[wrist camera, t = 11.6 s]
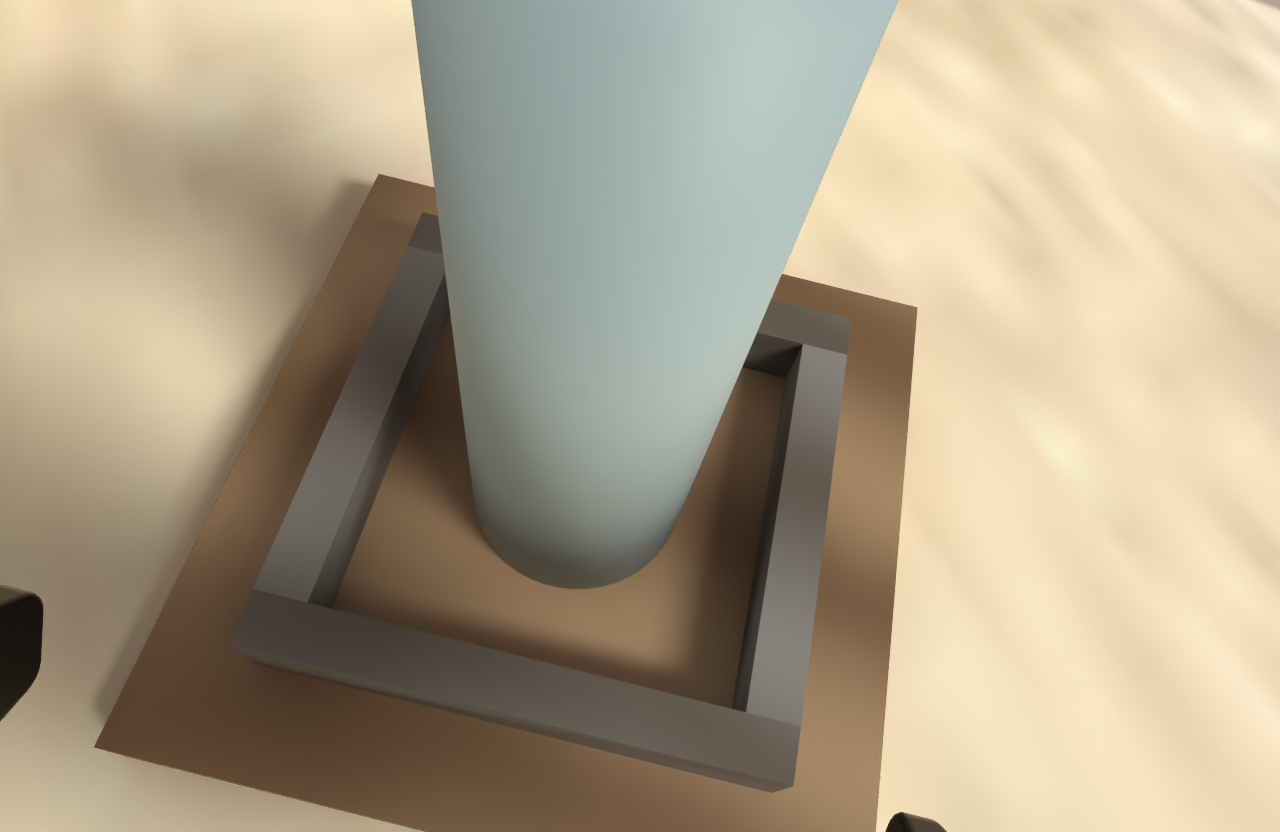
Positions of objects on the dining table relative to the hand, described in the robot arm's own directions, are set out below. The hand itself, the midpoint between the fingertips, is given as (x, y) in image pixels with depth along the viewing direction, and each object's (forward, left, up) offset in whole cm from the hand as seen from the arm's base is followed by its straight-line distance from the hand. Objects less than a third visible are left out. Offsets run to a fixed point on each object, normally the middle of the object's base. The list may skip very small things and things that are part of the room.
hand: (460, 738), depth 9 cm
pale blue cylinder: (+5, +3, -8) cm, 10 cm away
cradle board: (+5, +3, -9) cm, 11 cm away
